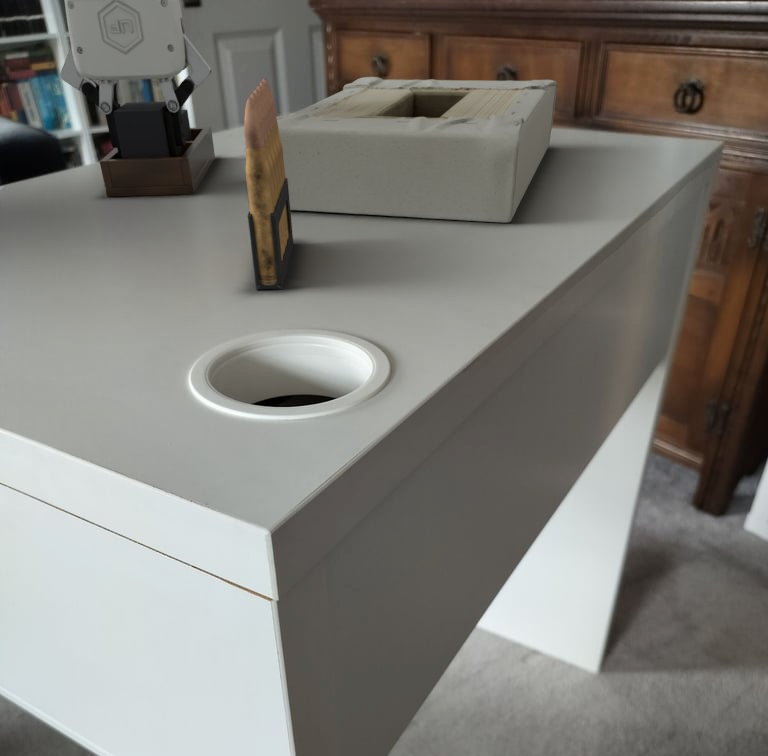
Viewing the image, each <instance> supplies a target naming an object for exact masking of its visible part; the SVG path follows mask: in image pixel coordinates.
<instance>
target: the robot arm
mask: <svg viewBox="0 0 768 756" xmlns="http://www.w3.org/2000/svg"><path fill="white" fill-rule="evenodd" d="M63 2H64V7H65V15H66V23H67V28H68V36H69V42H70V48H69V49H68V52H67V55H66V58H65V60H64V63H63V65H62V68H61V71H60V74H59V75H60V78H61V80H62V81H64V82H65V83H66V84H67V85H70V86H71V87H72V88H74V89H76V90H78V91H79V92H81V93H82V94H83V95H84V96H85V97H86V98H87V99H88V100H89V101H91V102H92V103H93V104H94V105H95V106H97V107H98V109H99V111H100V112H101V113H102V114H104V115H105V119H106V124H107V125H106V126H107V129H108V134H109V140H110V143H111V144H110V145H111V147H112V148H113V149H114V148H117V150H118V155H119V158H122V153H121V148H120V143H119V137H118V132H117V127H116V122H115V117H114V111H115V110H117V109H118V108H120V107H121V106H122V105H121V104H120V102H119V101H120V100H119V99H120V98H119V95H120V94H119V93H120V80H121V81H123V80H124V81H125V80H126V81H127V80H155V79H156V81H157V82H156V83H157V84H158V88H159V89H160V92H161V95H162V98H163V102H165V103H166V105H165V111H166V112H165V113H164V122H165V128H166V134H167V140H168V146H169V153H170V156H172V157H177V156H178V155H179V154H180V153H181V146H185V144H186V141H185V133H184V127H183V120H182V114H181V110H182V107H183V106H184V105H185V103H186V102H187V100H188V99H189V98H190V96H191V95H192V93H193V92H194V91H195V90H196V89H197V88H198V87H199V86H200V85H202V84H203V83H204V82H205V81H206V80H207V79H208V78H209V77H210V76H211V74H212V67H211V66H210V65H209V64H208V63H207V61H206V60H205V59H204V57H203V56H202V55H201V54H200V52H199V51H198V50H197V48H196V47H195V45H194V44H193V43H192V41H191V40H190V39H189V38H188V36H187V33H186V28H185V23H184V18H183V14H182V9H181V4H180V0H64V1H63ZM189 66H190V68H191V72H190V73H189V74H188V76H187V77H186V78H184V79H183V80H182V81H181V82H180V84H178V81H177V78H176V76H178V75H179V74H180V73H182V72H183V71H184V70H185V69H187V68H188V67H189ZM93 80H94V81H93ZM96 81H99V82H98V83H97V82H96Z"/></svg>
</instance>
